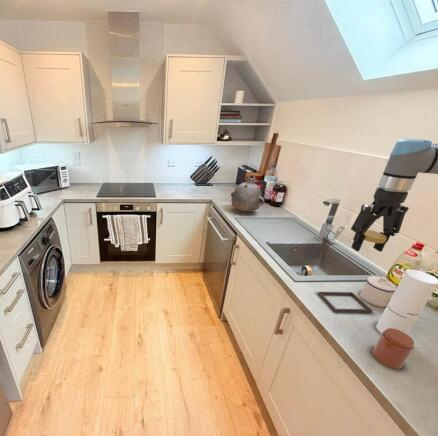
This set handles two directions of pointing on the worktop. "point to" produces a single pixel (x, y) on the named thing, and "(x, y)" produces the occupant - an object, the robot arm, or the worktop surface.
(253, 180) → the jug
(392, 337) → the jar
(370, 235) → the jar lid
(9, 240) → the worktop surface
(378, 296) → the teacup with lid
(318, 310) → the worktop surface
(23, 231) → the worktop surface
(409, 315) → the cylindrical container
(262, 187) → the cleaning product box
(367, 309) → the dark rectangular frame
